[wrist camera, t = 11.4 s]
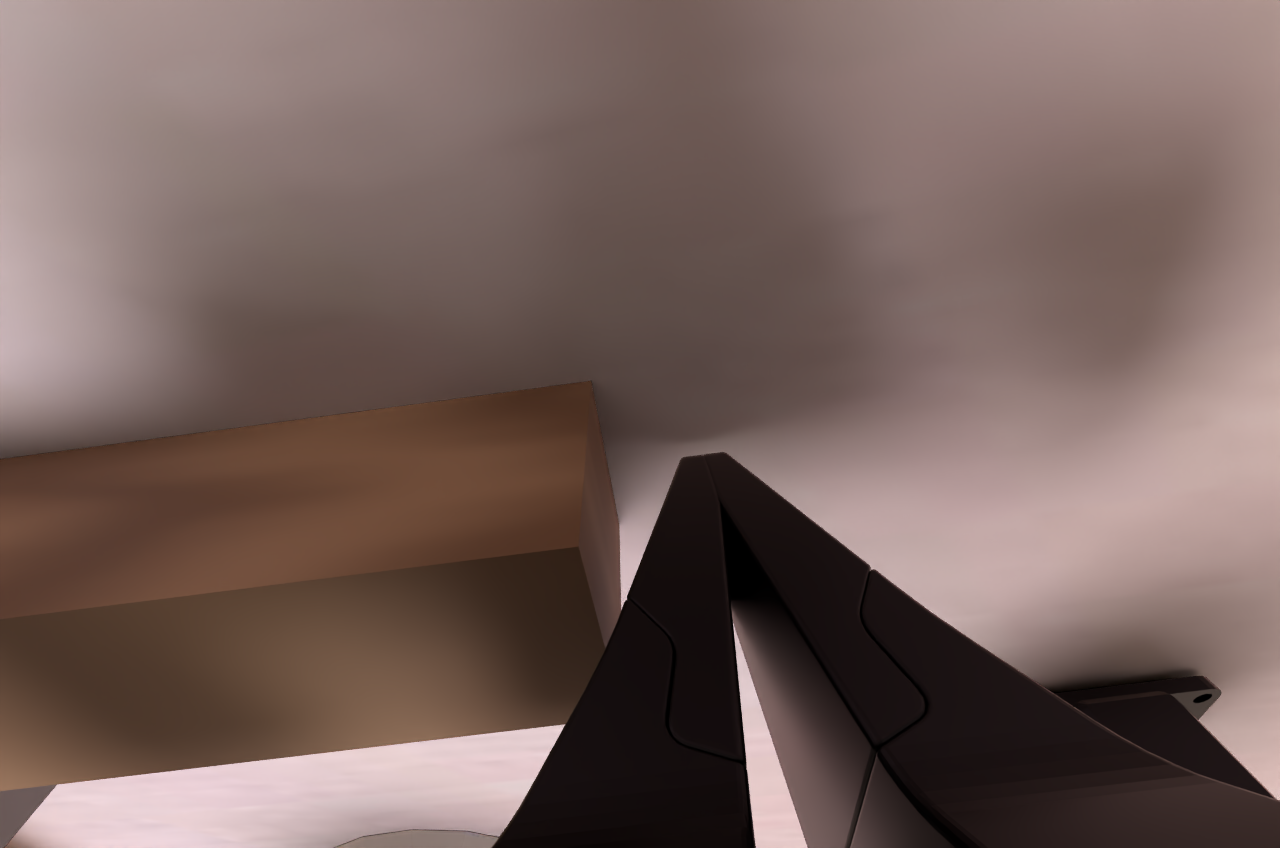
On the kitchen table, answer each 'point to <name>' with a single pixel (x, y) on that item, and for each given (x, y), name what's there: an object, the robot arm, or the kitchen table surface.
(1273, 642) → the kitchen table surface
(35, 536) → the slat
